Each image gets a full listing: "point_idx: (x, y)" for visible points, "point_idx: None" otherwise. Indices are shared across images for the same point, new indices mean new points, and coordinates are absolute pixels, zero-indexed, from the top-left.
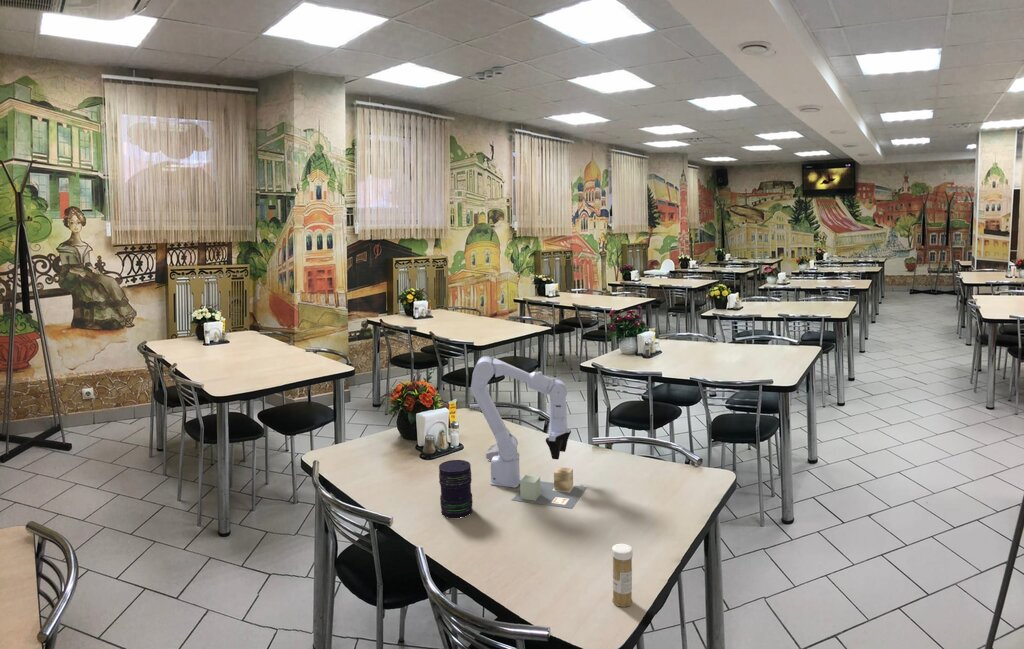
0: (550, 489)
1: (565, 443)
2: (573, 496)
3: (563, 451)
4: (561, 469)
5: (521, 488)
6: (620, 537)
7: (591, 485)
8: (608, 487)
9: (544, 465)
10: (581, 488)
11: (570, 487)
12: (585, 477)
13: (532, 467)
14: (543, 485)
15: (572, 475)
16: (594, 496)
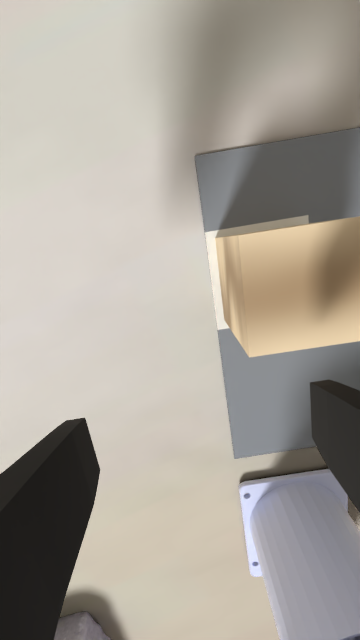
0: None
1: (30, 494)
2: (352, 169)
3: (88, 431)
4: (289, 315)
5: None
6: None
7: (154, 138)
8: (130, 4)
9: None
10: (228, 175)
11: (270, 229)
12: (62, 229)
13: (92, 513)
14: (271, 378)
15: (241, 234)
16: (305, 39)
